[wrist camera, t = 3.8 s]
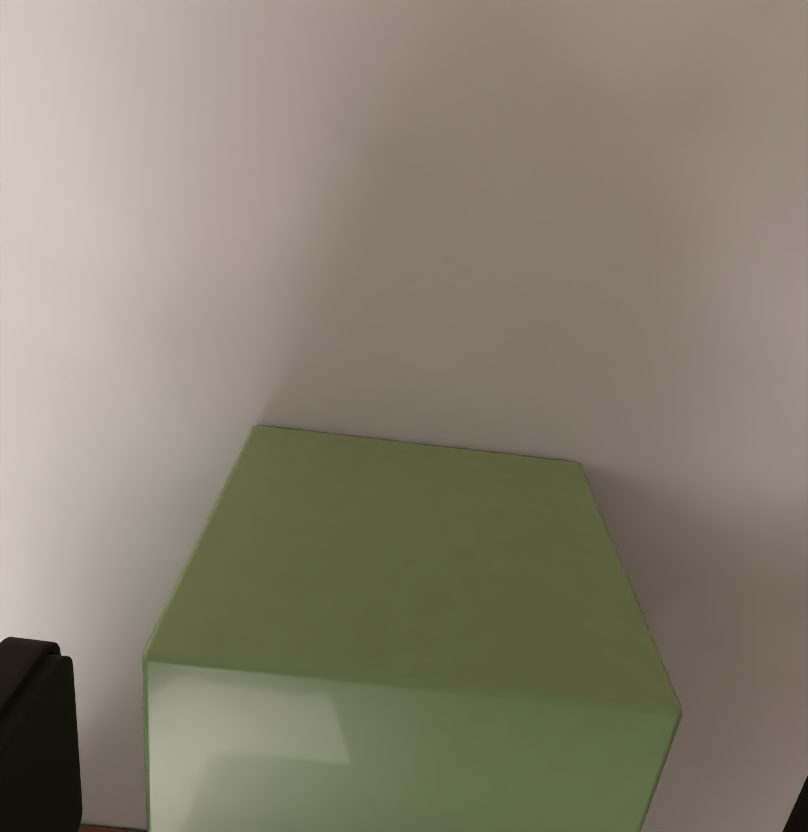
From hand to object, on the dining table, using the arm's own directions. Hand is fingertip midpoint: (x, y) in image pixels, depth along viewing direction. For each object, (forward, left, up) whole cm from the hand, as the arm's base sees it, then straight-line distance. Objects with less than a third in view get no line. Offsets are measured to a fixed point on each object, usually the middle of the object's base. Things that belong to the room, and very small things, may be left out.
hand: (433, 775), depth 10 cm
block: (0, -1, -3) cm, 4 cm away
